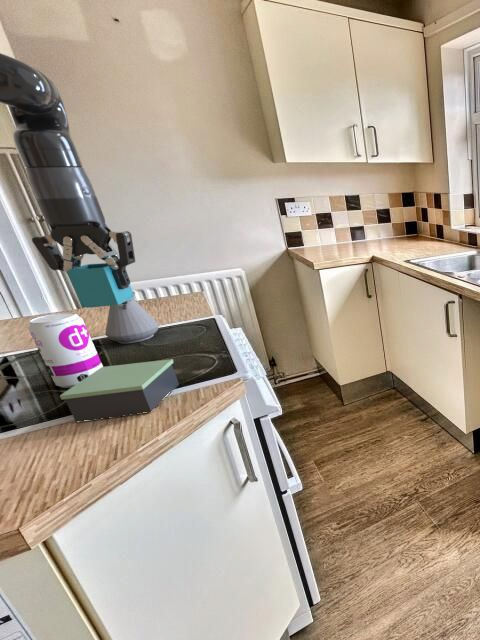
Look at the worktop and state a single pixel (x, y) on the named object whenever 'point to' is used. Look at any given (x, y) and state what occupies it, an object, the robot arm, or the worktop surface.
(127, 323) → the coffee pot
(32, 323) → the supplement can
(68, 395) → the green and grey box
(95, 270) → the teal container
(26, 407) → the worktop surface
